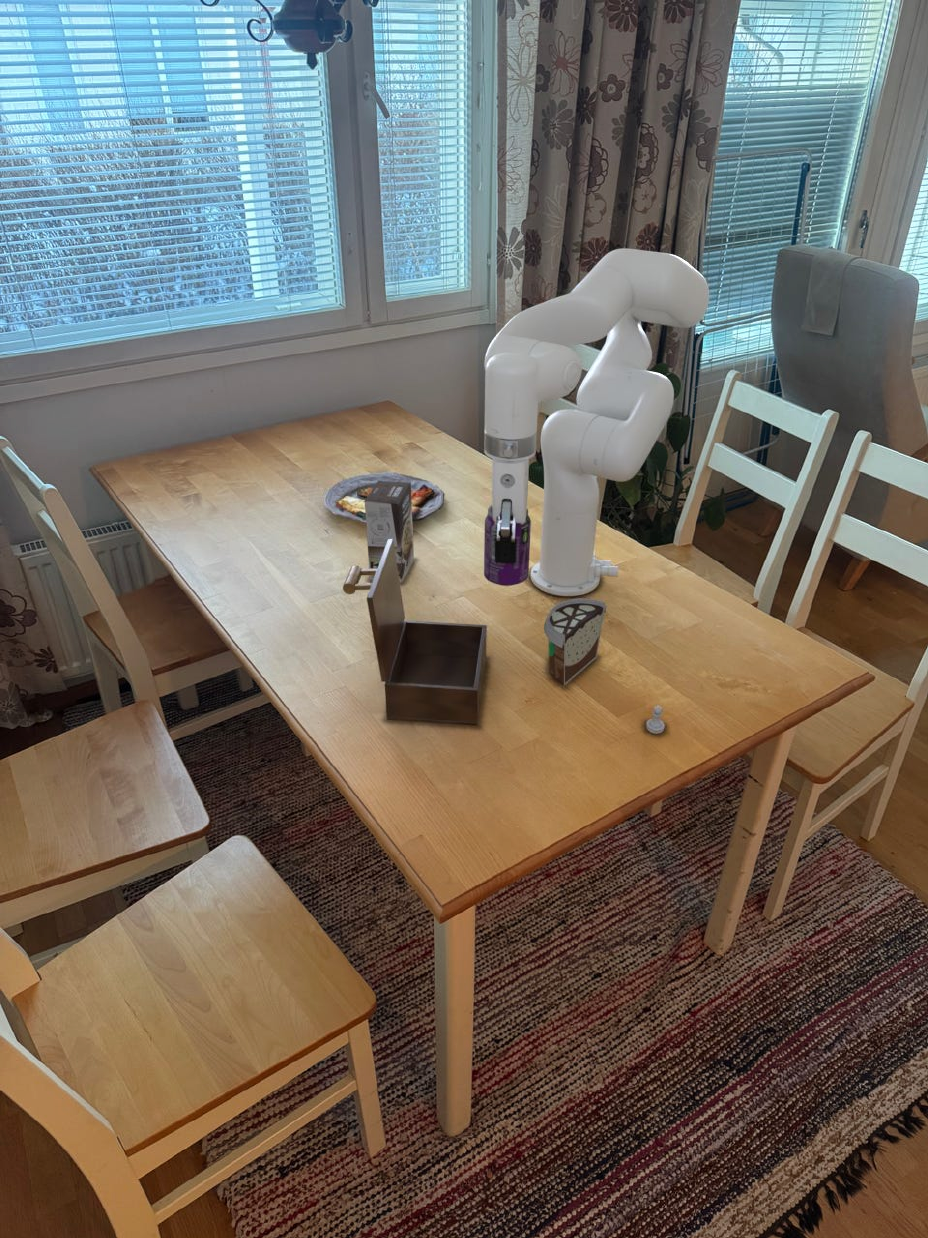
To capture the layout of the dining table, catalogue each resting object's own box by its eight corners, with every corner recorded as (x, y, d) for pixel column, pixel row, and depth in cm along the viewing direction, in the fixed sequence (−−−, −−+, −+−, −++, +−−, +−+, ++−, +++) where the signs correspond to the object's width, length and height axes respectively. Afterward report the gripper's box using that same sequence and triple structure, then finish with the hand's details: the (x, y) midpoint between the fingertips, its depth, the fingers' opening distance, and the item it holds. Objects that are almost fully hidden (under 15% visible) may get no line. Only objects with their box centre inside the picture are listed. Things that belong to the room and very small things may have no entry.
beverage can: (535, 584, 135) (539, 516, 128) (494, 593, 133) (495, 524, 126) (517, 563, 140) (519, 497, 133) (477, 571, 138) (477, 504, 131)
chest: (486, 659, 136) (486, 624, 132) (477, 726, 123) (477, 690, 119) (404, 654, 137) (402, 620, 133) (386, 720, 124) (384, 684, 120)
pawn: (656, 720, 124) (659, 698, 121) (667, 730, 122) (671, 709, 119) (642, 725, 123) (645, 704, 120) (653, 736, 121) (657, 714, 118)
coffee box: (403, 584, 155) (399, 504, 146) (368, 580, 156) (362, 500, 147) (415, 559, 162) (412, 481, 153) (382, 556, 163) (377, 478, 154)
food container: (569, 639, 140) (573, 587, 135) (601, 653, 137) (607, 601, 131) (525, 675, 132) (528, 621, 127) (558, 690, 129) (562, 636, 124)
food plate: (463, 496, 185) (463, 481, 183) (408, 543, 167) (407, 527, 165) (366, 474, 194) (365, 459, 192) (304, 515, 177) (302, 500, 175)
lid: (393, 538, 125) (356, 539, 126) (372, 597, 112) (330, 598, 113) (405, 617, 133) (370, 618, 134) (386, 681, 120) (348, 682, 120)
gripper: (534, 467, 116) (528, 579, 126) (537, 421, 130) (532, 525, 140) (479, 465, 117) (478, 577, 127) (489, 419, 131) (487, 522, 141)
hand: (506, 548), depth 133 cm, fingers closed on beverage can, 7 cm apart
